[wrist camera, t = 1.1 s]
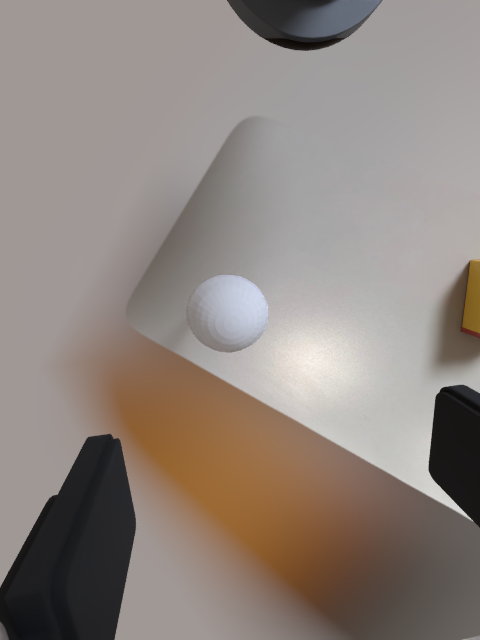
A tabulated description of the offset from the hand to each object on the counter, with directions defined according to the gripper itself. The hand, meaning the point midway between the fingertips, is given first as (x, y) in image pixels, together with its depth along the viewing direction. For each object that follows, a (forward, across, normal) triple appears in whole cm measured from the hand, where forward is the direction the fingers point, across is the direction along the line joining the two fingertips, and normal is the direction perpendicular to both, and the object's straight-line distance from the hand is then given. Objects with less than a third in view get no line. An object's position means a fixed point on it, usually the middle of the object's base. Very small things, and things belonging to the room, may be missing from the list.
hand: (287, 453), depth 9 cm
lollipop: (+28, 0, 0) cm, 28 cm away
